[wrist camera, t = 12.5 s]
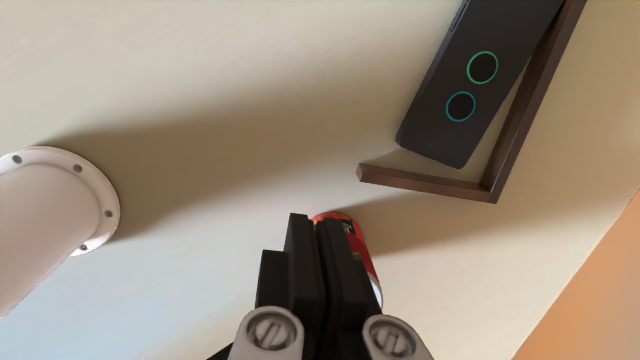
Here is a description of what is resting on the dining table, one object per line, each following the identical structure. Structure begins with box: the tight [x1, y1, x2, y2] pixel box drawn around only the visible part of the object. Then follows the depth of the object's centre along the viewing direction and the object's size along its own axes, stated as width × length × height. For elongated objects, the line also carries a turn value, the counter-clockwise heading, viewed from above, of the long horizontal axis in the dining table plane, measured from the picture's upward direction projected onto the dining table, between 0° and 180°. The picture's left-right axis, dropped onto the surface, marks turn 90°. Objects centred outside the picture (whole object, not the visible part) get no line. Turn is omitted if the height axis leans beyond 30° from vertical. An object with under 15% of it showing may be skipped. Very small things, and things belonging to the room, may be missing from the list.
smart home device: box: [396, 0, 564, 170], centre depth 32 cm, size 8×2×20 cm
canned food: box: [310, 212, 383, 310], centre depth 34 cm, size 8×8×11 cm
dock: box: [356, 0, 587, 204], centre depth 32 cm, size 16×26×2 cm, turn 169°
